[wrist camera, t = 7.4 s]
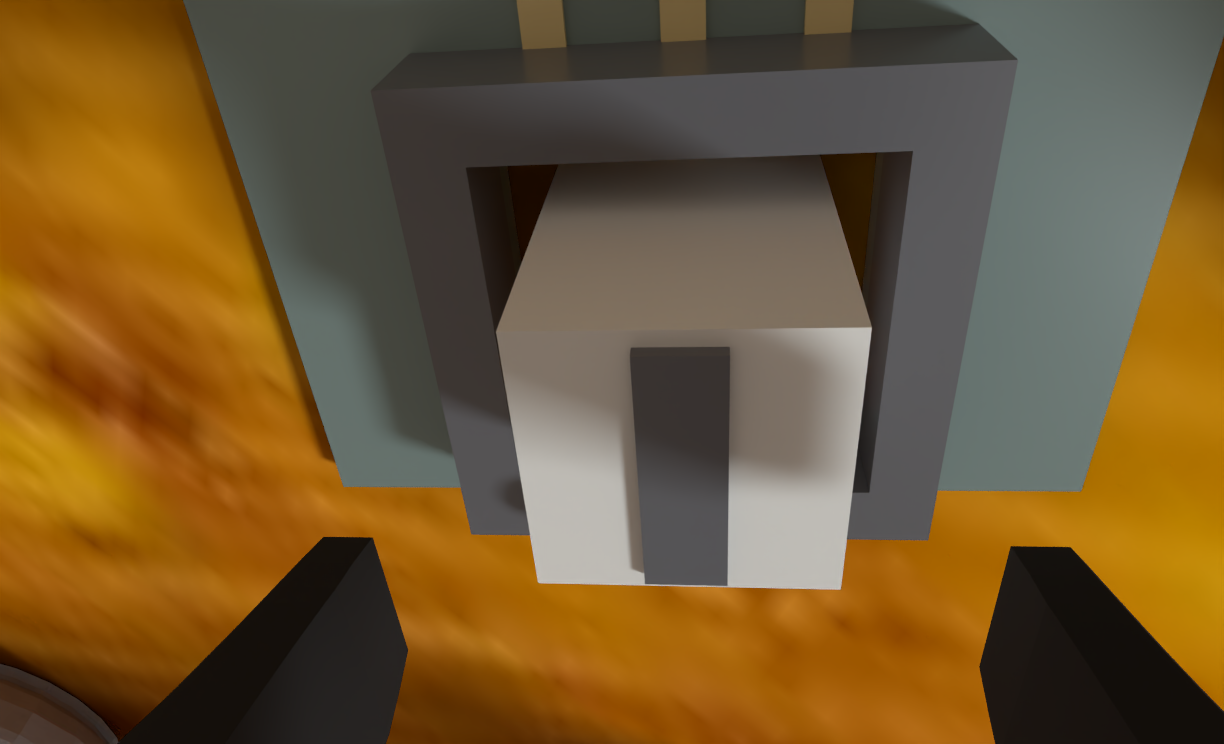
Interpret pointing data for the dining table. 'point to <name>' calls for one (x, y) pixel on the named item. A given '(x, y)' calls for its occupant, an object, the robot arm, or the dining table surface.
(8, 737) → the coffee pot
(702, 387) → the plug
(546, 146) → the header socket
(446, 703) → the dining table surface
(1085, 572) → the robot arm
